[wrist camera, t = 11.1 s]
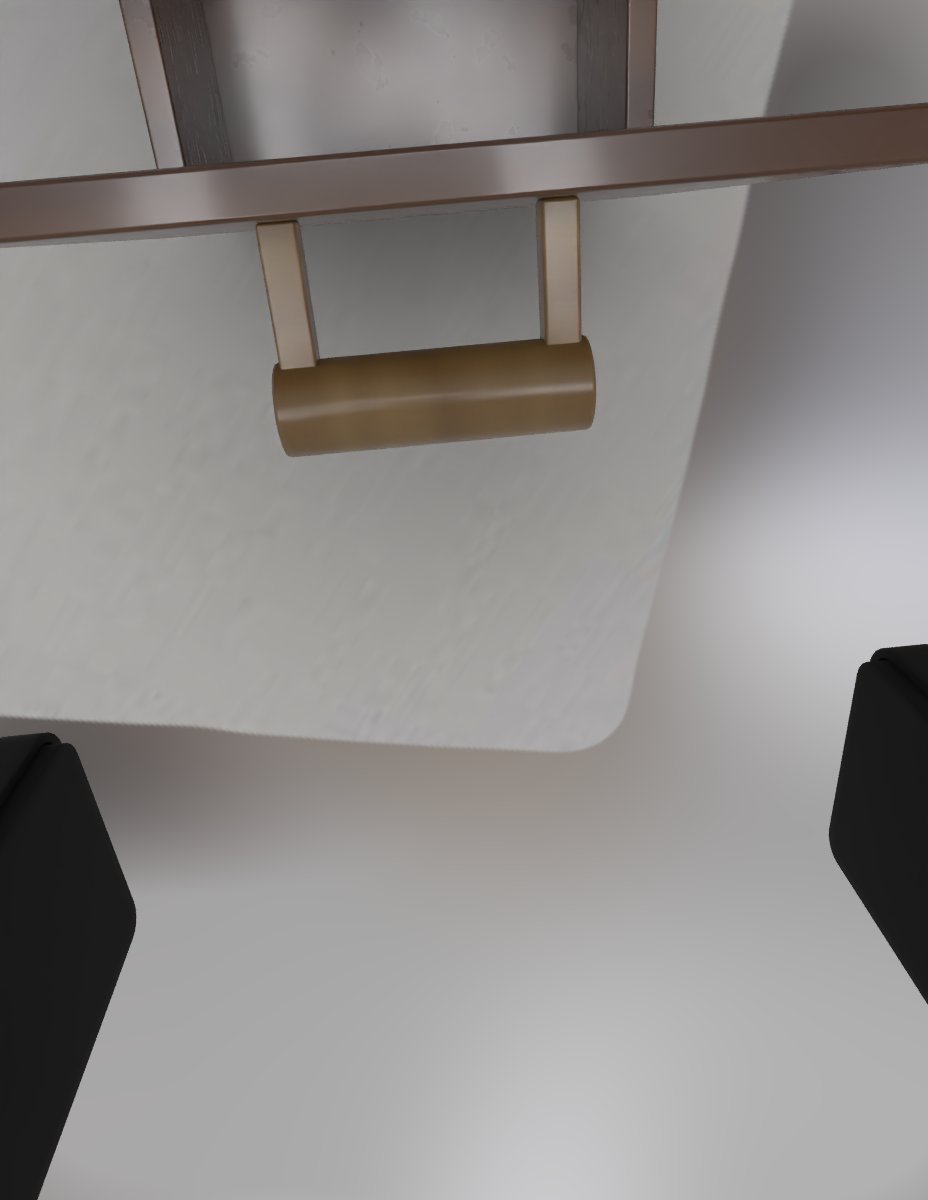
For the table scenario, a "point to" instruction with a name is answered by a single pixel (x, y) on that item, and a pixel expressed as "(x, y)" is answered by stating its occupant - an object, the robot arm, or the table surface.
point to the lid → (438, 186)
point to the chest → (383, 73)
